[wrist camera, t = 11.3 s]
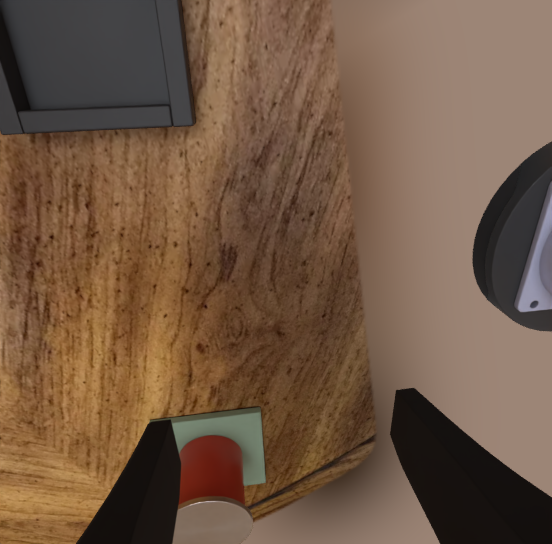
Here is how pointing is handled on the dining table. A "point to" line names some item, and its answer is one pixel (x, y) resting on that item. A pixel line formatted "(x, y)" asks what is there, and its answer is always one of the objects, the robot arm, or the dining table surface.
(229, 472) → the red pod
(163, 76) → the pod holder
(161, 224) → the dining table surface
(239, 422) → the coaster
